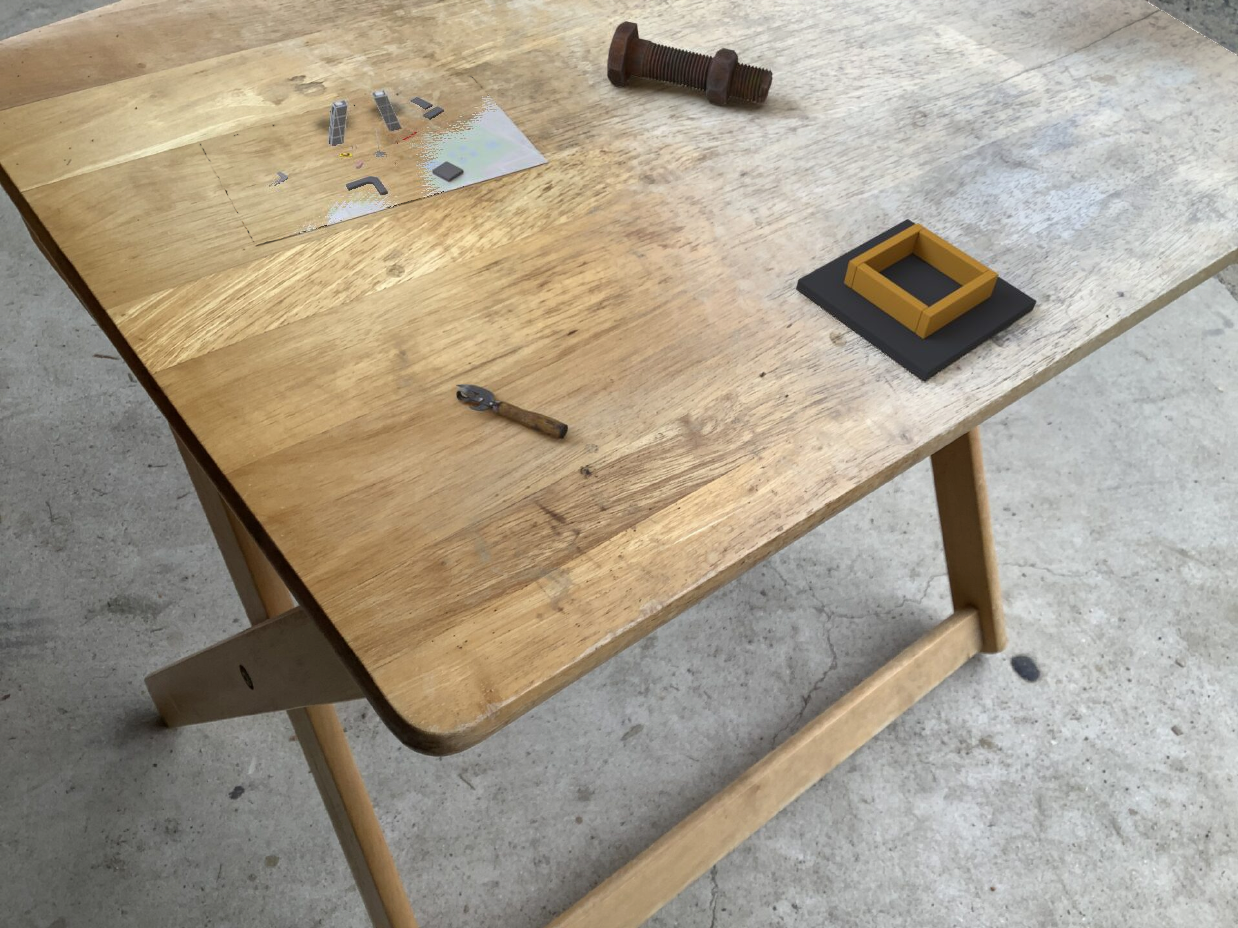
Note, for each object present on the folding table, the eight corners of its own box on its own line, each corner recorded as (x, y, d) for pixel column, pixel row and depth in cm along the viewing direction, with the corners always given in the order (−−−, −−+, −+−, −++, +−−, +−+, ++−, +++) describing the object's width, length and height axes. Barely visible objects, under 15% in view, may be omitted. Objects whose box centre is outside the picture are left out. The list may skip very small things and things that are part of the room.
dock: (1033, 310, 84) (1046, 278, 82) (924, 382, 79) (935, 350, 76) (904, 228, 91) (914, 196, 88) (795, 289, 85) (802, 256, 83)
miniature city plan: (255, 246, 86) (244, 207, 83) (198, 143, 95) (187, 104, 93) (548, 162, 95) (547, 124, 92) (471, 75, 104) (468, 38, 101)
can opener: (570, 433, 74) (569, 421, 73) (550, 455, 73) (550, 443, 72) (463, 381, 77) (462, 369, 76) (443, 401, 76) (441, 389, 75)
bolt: (760, 128, 103) (610, 92, 105) (775, 81, 104) (625, 47, 106) (762, 95, 98) (603, 58, 100) (778, 46, 98) (620, 10, 101)
